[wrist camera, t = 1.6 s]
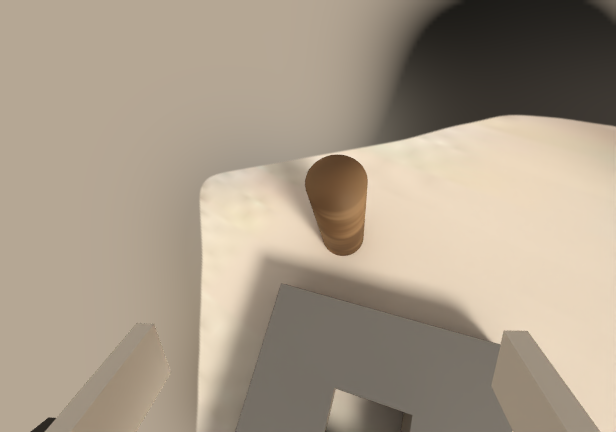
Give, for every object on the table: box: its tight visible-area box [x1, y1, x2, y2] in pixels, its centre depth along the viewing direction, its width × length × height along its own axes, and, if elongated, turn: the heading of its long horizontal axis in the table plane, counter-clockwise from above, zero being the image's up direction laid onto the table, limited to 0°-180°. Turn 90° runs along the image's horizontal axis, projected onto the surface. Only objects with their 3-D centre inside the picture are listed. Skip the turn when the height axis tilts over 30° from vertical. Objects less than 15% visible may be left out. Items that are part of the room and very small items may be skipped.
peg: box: [305, 155, 367, 256], centre depth 28 cm, size 4×4×13 cm
